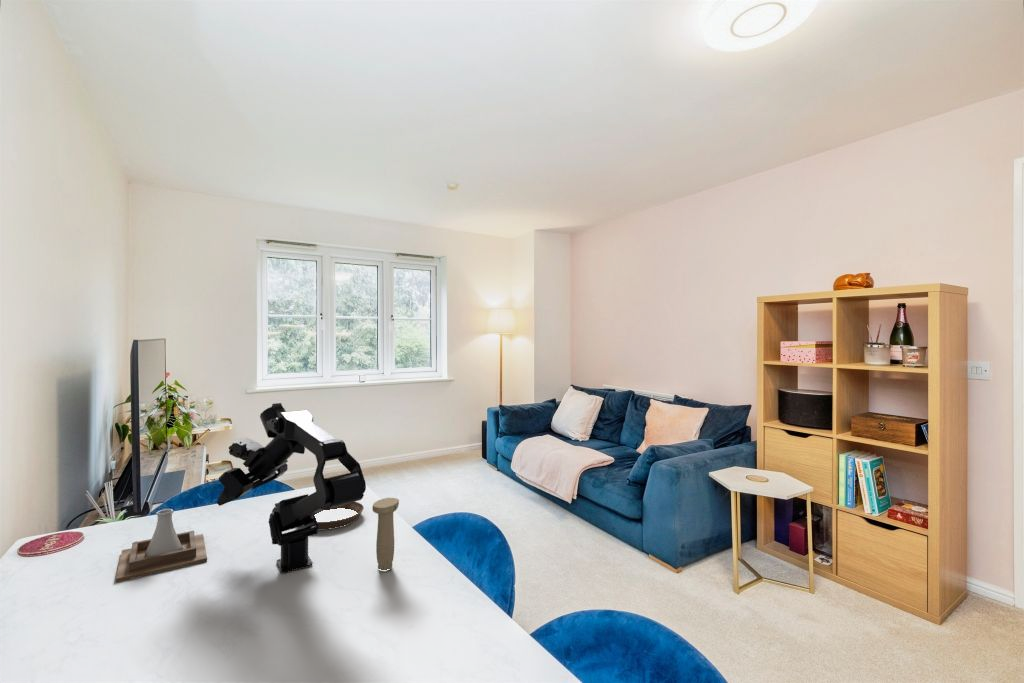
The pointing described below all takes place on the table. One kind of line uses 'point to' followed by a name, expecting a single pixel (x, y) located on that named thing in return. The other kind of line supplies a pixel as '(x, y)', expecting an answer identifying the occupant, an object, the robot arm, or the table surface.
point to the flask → (164, 535)
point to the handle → (385, 531)
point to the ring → (338, 523)
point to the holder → (160, 557)
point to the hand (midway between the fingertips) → (231, 497)
